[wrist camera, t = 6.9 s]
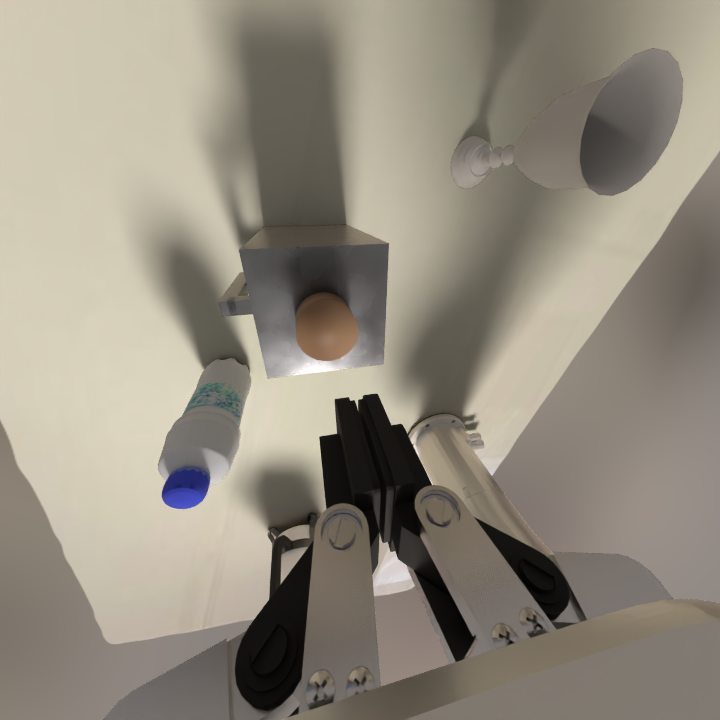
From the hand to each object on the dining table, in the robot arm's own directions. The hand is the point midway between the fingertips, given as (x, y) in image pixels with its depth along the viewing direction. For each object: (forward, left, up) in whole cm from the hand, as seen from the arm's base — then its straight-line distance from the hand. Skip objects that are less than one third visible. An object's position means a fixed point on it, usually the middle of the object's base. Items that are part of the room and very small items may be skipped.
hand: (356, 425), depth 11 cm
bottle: (+13, +14, -28) cm, 34 cm away
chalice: (-20, -11, -28) cm, 36 cm away
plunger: (0, 0, -27) cm, 27 cm away
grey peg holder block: (+2, 0, -28) cm, 28 cm away
